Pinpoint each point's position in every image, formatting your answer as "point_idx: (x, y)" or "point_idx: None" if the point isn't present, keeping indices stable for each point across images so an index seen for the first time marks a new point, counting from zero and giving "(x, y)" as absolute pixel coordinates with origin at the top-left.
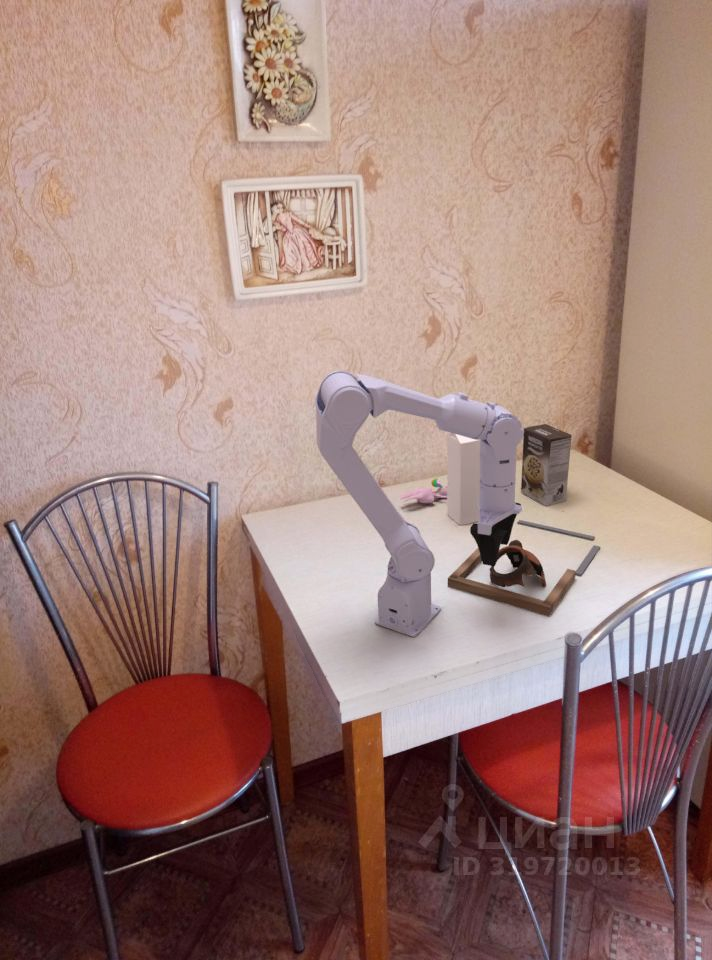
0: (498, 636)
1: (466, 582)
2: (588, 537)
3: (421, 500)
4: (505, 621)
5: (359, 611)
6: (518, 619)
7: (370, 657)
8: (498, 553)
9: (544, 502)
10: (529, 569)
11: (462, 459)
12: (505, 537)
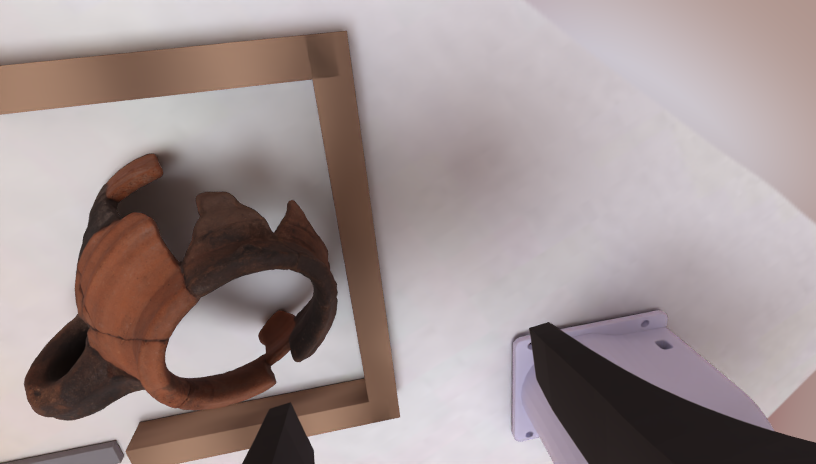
0: (556, 130)
1: (385, 366)
2: None
3: None
4: (466, 156)
5: None
6: (431, 125)
7: (760, 332)
8: (574, 367)
9: None
10: (231, 225)
11: None
12: (289, 453)
